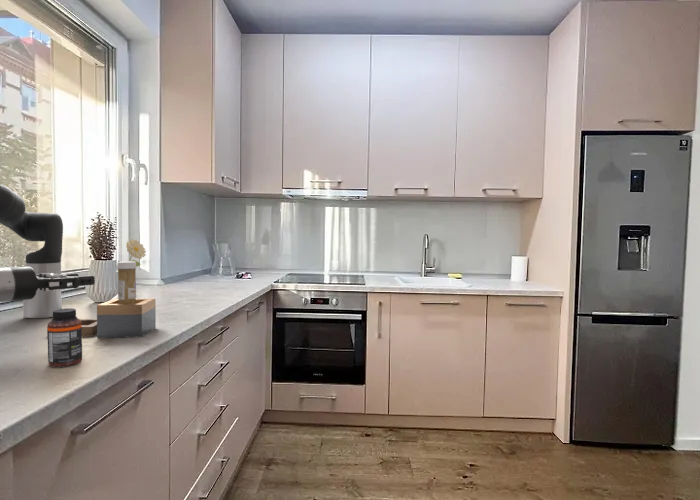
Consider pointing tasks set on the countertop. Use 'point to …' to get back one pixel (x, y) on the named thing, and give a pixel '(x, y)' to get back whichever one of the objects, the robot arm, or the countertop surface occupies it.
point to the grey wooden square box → (126, 318)
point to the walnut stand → (88, 327)
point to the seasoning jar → (126, 282)
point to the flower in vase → (134, 253)
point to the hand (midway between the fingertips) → (85, 278)
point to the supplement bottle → (64, 338)
